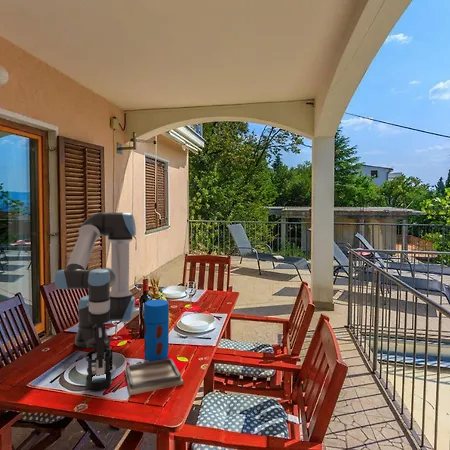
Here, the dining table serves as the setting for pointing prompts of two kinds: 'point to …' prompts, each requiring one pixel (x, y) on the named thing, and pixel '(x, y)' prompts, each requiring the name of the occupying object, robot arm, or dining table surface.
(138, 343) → the dining table surface
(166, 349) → the thermos
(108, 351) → the french press
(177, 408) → the dining table surface
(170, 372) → the board
